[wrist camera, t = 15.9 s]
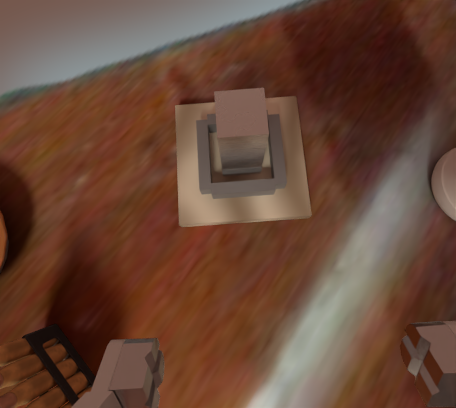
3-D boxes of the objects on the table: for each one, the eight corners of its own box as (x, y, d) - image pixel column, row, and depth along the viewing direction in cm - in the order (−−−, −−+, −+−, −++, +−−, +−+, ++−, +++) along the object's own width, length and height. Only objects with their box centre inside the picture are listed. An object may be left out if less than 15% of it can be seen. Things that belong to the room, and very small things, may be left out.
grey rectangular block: (257, 139, 34) (264, 86, 25) (260, 174, 33) (269, 134, 24) (220, 142, 34) (213, 91, 25) (223, 177, 33) (216, 138, 24)
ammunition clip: (118, 408, 30) (42, 494, 19) (103, 422, 30) (17, 518, 18) (56, 323, 32) (-48, 352, 21) (41, 335, 32) (-72, 373, 20)
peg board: (294, 102, 37) (299, 85, 33) (308, 217, 34) (316, 212, 30) (177, 111, 37) (171, 95, 34) (181, 227, 34) (175, 222, 31)
